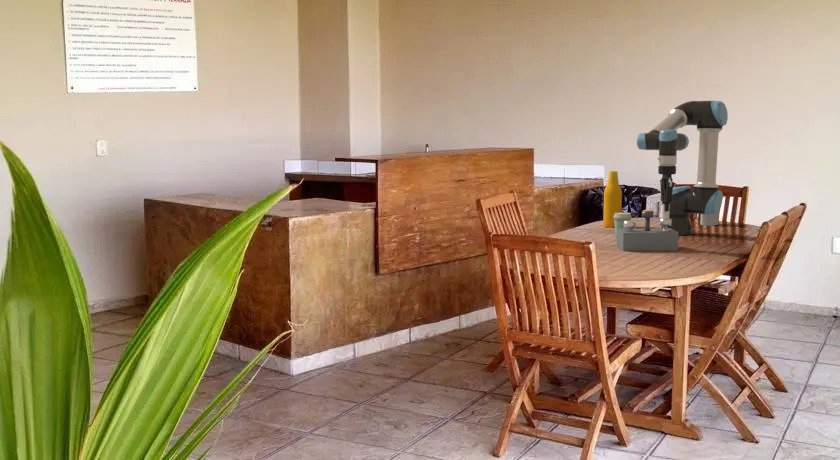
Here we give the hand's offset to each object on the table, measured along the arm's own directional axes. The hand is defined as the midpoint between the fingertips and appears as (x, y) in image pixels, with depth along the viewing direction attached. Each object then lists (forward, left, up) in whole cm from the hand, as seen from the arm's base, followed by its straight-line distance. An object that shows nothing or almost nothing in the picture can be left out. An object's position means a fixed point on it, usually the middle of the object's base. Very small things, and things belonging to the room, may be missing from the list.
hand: (665, 218), depth 385 cm
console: (+8, 0, -13) cm, 16 cm away
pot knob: (+8, 0, -8) cm, 11 cm away
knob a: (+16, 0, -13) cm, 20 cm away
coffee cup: (+12, -30, -14) cm, 35 cm away
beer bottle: (+8, -69, -14) cm, 71 cm away
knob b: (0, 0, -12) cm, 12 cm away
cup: (-44, -72, -14) cm, 86 cm away
